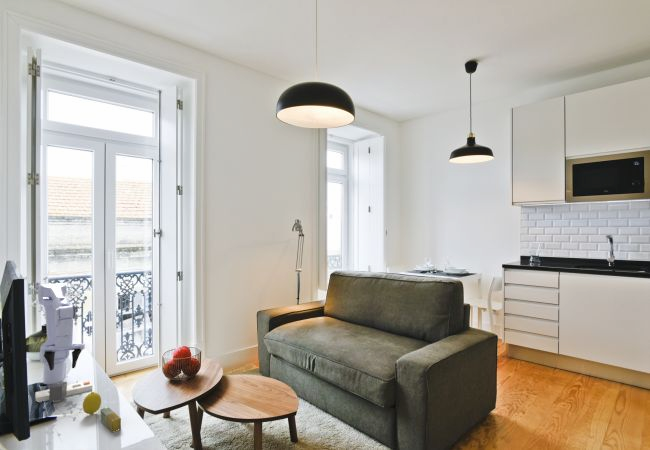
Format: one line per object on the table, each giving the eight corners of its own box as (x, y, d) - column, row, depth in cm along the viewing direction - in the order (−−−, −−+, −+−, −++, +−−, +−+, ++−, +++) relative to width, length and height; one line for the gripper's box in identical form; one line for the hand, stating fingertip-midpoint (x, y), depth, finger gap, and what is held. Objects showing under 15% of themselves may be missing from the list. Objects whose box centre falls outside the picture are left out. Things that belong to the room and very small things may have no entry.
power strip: (35, 399, 140) (35, 390, 140) (89, 387, 152) (89, 378, 153) (36, 406, 135) (36, 396, 135) (92, 392, 147) (92, 383, 147)
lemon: (91, 419, 124) (92, 395, 124) (78, 417, 125) (79, 394, 126) (104, 412, 129) (105, 389, 130) (91, 410, 130) (92, 388, 131)
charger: (54, 400, 139) (54, 382, 139) (66, 399, 140) (67, 381, 140) (48, 406, 134) (49, 387, 134) (61, 404, 135) (62, 386, 136)
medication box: (100, 420, 123) (100, 409, 124) (108, 417, 125) (108, 406, 126) (112, 433, 116) (112, 420, 116) (121, 429, 118) (121, 417, 118)
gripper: (39, 339, 142) (37, 374, 141) (81, 336, 147) (80, 369, 146) (46, 334, 148) (44, 368, 148) (86, 332, 153) (85, 364, 153)
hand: (62, 368), depth 147 cm, fingers open, 7 cm apart
